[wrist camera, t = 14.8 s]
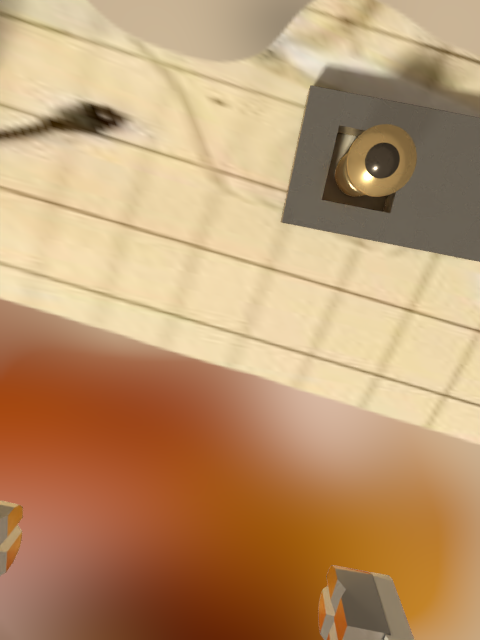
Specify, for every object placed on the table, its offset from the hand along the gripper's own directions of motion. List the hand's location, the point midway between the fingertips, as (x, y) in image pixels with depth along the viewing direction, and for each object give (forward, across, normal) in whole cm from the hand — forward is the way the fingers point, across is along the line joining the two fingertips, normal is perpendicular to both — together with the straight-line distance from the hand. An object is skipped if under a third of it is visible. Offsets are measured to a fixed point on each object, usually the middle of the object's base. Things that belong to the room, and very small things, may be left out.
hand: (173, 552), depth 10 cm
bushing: (+30, -8, -14) cm, 34 cm away
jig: (+30, -12, -14) cm, 35 cm away
